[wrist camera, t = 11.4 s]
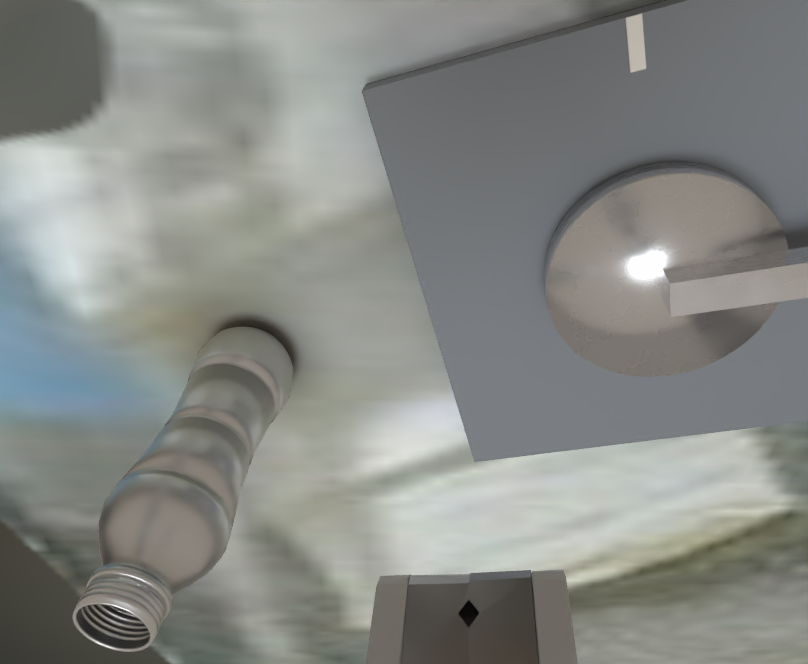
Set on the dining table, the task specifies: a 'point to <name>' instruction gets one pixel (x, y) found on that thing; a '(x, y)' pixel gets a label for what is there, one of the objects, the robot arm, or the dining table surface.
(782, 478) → the dining table surface
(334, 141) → the dining table surface
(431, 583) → the robot arm
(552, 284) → the dial
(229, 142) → the dining table surface
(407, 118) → the dial plate
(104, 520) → the plastic bottle
